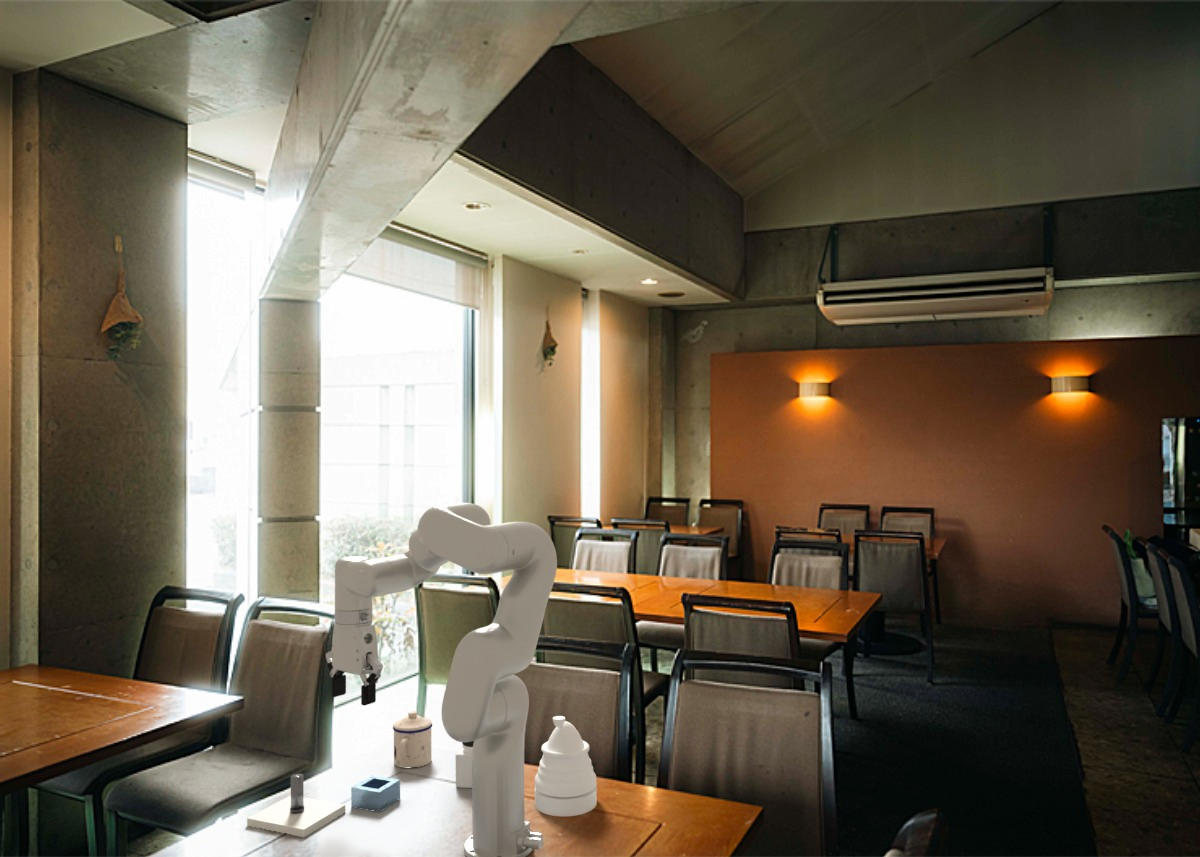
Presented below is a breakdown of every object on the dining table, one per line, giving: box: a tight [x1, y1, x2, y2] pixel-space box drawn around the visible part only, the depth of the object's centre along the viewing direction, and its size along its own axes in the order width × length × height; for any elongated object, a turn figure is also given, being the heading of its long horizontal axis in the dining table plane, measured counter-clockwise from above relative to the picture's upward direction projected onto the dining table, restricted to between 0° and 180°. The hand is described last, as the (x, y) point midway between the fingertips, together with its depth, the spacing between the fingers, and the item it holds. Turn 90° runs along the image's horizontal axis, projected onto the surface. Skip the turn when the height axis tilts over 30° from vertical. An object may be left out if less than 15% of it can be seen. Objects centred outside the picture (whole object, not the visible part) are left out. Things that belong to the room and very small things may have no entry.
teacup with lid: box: [392, 711, 433, 768], centre depth 198 cm, size 12×9×12 cm
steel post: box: [290, 773, 305, 814], centre depth 169 cm, size 3×3×7 cm
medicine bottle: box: [455, 741, 474, 789], centre depth 187 cm, size 7×7×12 cm
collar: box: [350, 775, 401, 812], centre depth 176 cm, size 7×7×4 cm
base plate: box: [246, 794, 346, 838], centre depth 169 cm, size 14×12×2 cm
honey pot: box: [534, 715, 598, 817], centre depth 176 cm, size 13×13×18 cm
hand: (353, 699), depth 176 cm, fingers open, 9 cm apart
